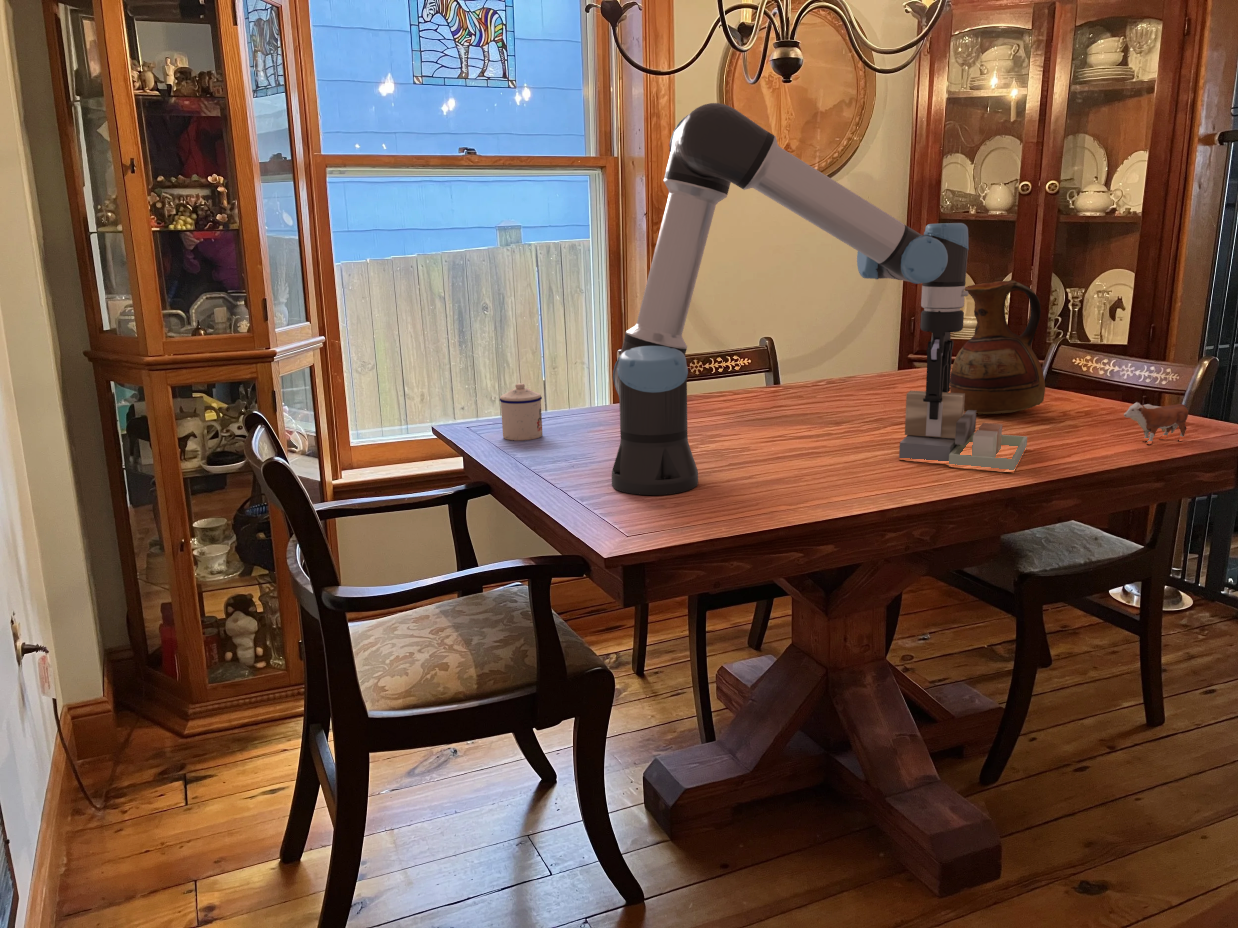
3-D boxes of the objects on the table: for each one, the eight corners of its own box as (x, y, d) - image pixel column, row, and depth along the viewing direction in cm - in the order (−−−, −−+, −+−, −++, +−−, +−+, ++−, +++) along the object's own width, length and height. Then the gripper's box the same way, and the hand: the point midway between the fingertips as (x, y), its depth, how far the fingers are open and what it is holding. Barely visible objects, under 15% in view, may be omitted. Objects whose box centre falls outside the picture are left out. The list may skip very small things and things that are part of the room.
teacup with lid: (548, 438, 204) (545, 385, 201) (506, 443, 202) (503, 388, 199) (535, 428, 215) (532, 377, 213) (495, 432, 213) (492, 380, 210)
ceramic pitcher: (938, 405, 228) (945, 278, 220) (1024, 403, 226) (1034, 276, 219) (962, 422, 209) (971, 283, 201) (1056, 420, 207) (1068, 281, 200)
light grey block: (971, 462, 173) (991, 464, 171) (973, 435, 172) (993, 437, 170) (975, 456, 177) (995, 458, 176) (977, 430, 176) (997, 431, 174)
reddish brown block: (977, 453, 179) (996, 455, 177) (978, 427, 178) (998, 429, 176) (981, 448, 183) (1000, 449, 182) (982, 422, 182) (1002, 424, 180)
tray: (1013, 473, 166) (1014, 459, 165) (948, 467, 171) (949, 454, 171) (1026, 449, 183) (1027, 436, 182) (966, 444, 188) (967, 432, 188)
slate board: (949, 465, 173) (950, 446, 172) (898, 460, 177) (899, 442, 176) (963, 446, 187) (964, 429, 186) (916, 442, 191) (917, 425, 190)
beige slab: (964, 444, 172) (966, 401, 170) (899, 439, 178) (900, 397, 176) (975, 430, 183) (977, 389, 181) (913, 426, 189) (915, 386, 187)
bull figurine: (1117, 442, 186) (1121, 401, 184) (1176, 437, 189) (1180, 397, 187) (1133, 447, 182) (1137, 405, 180) (1193, 442, 185) (1198, 400, 183)
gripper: (956, 313, 166) (948, 444, 172) (971, 305, 180) (963, 426, 186) (912, 313, 170) (906, 440, 175) (930, 305, 184) (924, 423, 189)
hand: (935, 433), depth 181 cm, fingers closed on beige slab, 3 cm apart
